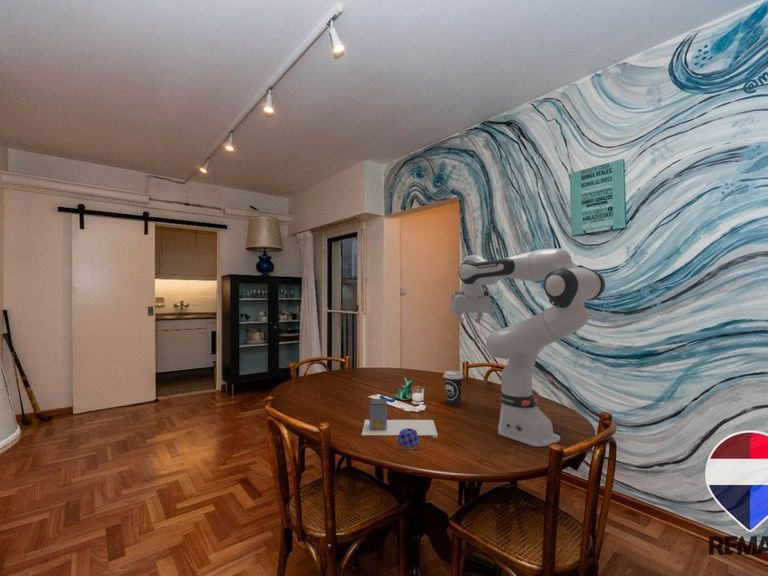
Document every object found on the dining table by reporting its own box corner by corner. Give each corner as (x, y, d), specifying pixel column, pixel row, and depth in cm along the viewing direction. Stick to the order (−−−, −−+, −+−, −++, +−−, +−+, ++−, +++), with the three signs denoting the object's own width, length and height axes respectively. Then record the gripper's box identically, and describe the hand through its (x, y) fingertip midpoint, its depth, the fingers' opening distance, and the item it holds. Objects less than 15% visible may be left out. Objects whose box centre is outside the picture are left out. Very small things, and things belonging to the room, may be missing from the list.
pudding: (406, 436, 134) (406, 422, 134) (432, 445, 126) (432, 430, 126) (384, 446, 125) (384, 431, 125) (410, 457, 117) (410, 440, 117)
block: (373, 425, 142) (373, 414, 142) (383, 425, 142) (383, 414, 142) (373, 428, 138) (373, 418, 138) (383, 428, 138) (383, 418, 138)
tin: (370, 424, 143) (370, 398, 144) (387, 424, 143) (386, 398, 143) (369, 430, 137) (369, 403, 137) (386, 430, 137) (386, 403, 137)
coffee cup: (465, 407, 166) (465, 374, 167) (445, 407, 167) (444, 374, 167) (461, 401, 176) (461, 370, 176) (442, 401, 176) (441, 370, 176)
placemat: (433, 422, 147) (433, 419, 147) (437, 437, 131) (437, 435, 131) (365, 422, 148) (365, 419, 148) (361, 437, 132) (361, 434, 132)
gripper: (456, 291, 152) (455, 323, 152) (493, 292, 161) (491, 323, 161) (447, 290, 157) (446, 322, 157) (483, 292, 166) (482, 322, 166)
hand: (469, 322), depth 159 cm, fingers open, 8 cm apart
